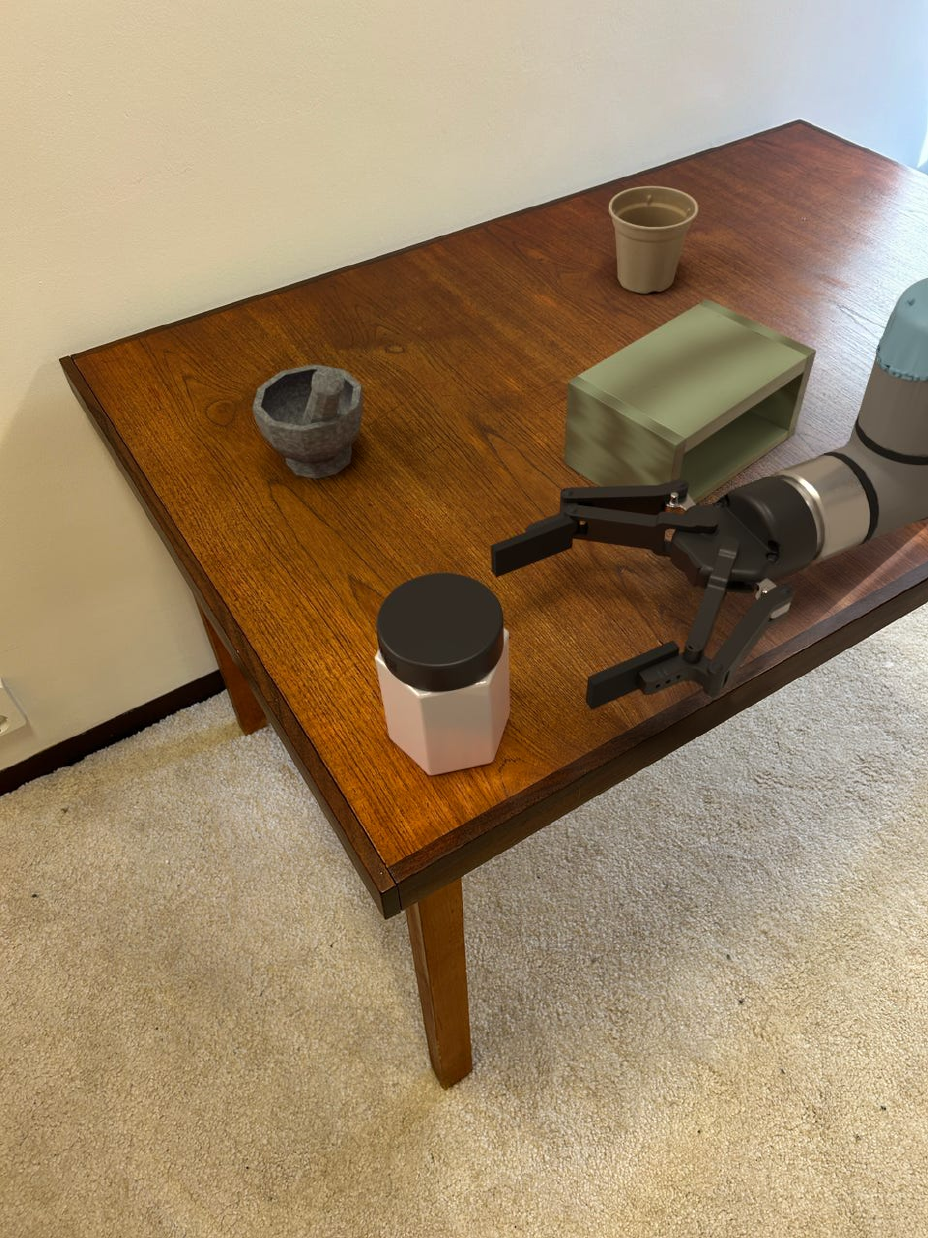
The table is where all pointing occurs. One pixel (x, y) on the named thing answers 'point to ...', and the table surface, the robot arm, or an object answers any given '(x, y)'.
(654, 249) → the flower pot
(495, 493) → the table surface
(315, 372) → the mortar and pestle
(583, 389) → the olive green cubby
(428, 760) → the jar
